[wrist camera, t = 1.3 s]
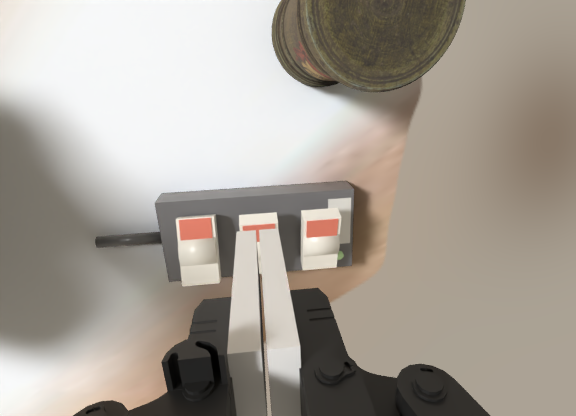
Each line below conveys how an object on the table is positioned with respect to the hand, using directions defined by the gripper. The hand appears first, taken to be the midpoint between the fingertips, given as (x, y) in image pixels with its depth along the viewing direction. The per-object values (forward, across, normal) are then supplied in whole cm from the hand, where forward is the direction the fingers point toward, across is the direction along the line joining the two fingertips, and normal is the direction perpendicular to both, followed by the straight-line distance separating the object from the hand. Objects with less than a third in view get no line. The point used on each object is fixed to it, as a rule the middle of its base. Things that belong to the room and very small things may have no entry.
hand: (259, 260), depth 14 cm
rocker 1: (+21, -6, -9) cm, 24 cm away
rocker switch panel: (+24, -3, -9) cm, 26 cm away
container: (+25, +7, +10) cm, 27 cm away
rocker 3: (+21, +6, -9) cm, 23 cm away
